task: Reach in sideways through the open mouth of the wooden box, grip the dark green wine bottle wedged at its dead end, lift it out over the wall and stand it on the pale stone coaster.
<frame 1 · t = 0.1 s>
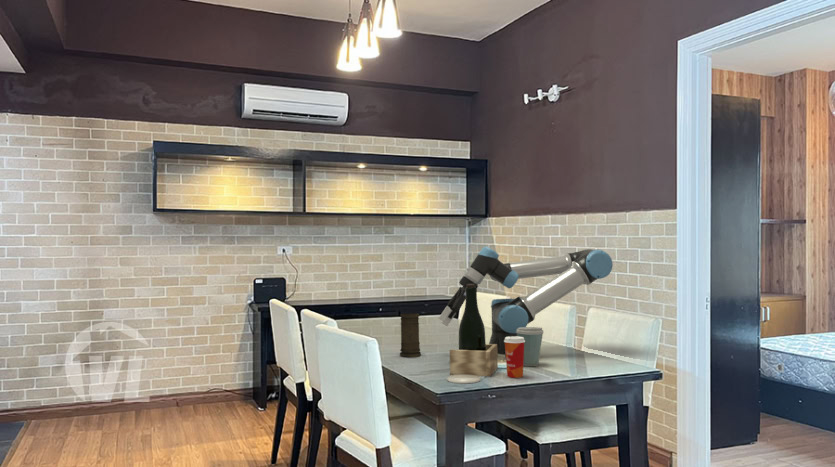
hand: (442, 322, 267), 15 cm above the table, tool tilted 35°, fingers open, 13 cm apart
disposable coffee cup: (530, 365, 252), on the table
coaster: (463, 379, 228), on the table
paper cup: (515, 376, 232), on the table
wooden box: (472, 370, 243), on the table
container: (410, 356, 275), on the table
dark green wine bottle: (472, 371, 243), on the table
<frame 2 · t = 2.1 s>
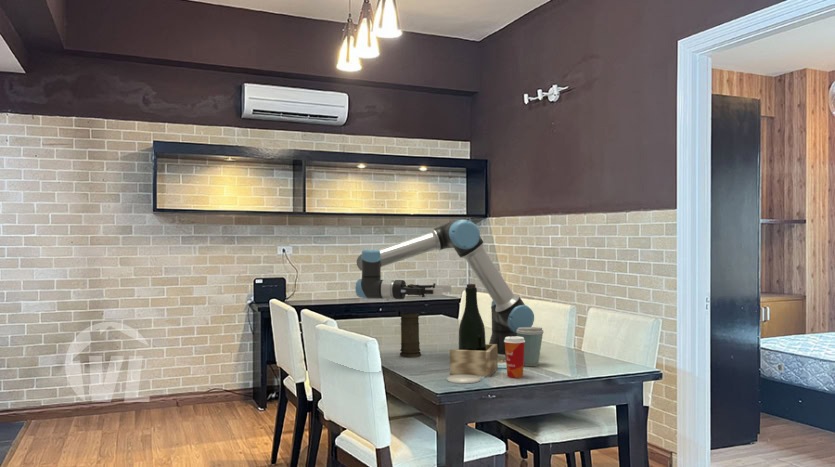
hand: (446, 290, 246), 30 cm above the table, tool horizontal, fingers open, 13 cm apart
nothing on the table moved.
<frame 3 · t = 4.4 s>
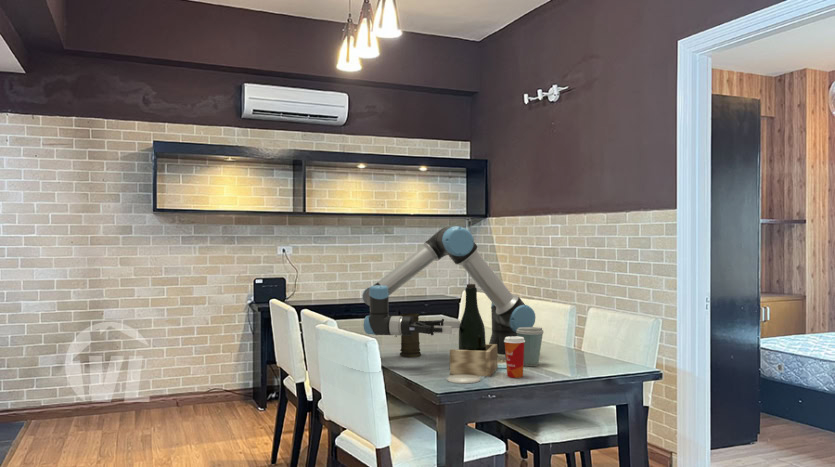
hand: (455, 327, 244), 16 cm above the table, tool horizontal, fingers open, 13 cm apart
nothing on the table moved.
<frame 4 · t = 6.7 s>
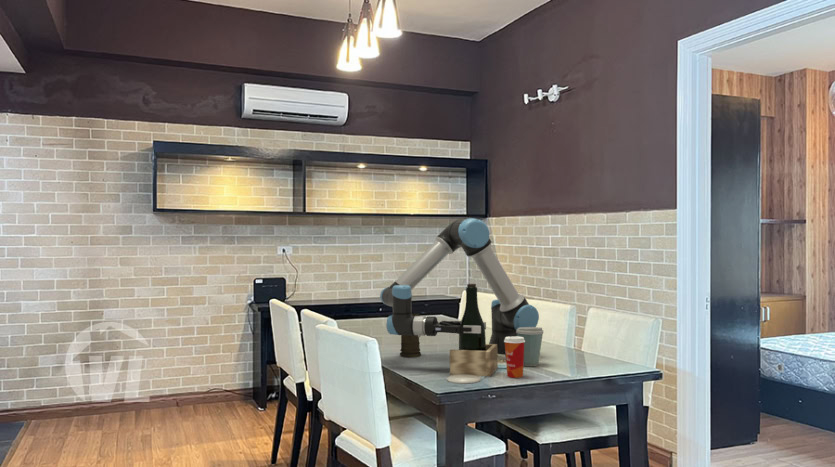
hand: (483, 327, 241), 17 cm above the table, tool horizontal, fingers closed on dark green wine bottle, 9 cm apart
dark green wine bottle: (472, 371, 243), on the table, touching gripper
everything else where it was.
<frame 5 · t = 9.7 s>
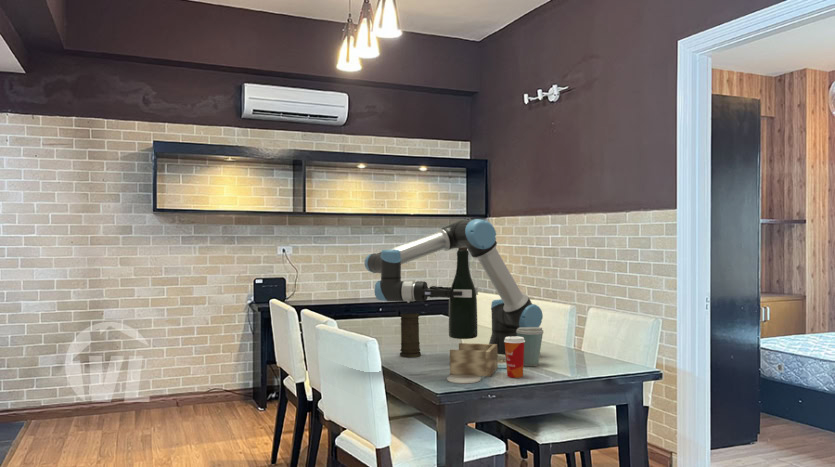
hand: (474, 292, 232), 31 cm above the table, tool horizontal, fingers closed on dark green wine bottle, 9 cm apart
dark green wine bottle: (463, 337, 233), point 14 cm above the table, touching gripper
everything else where it was.
when the fingers open (18 cm above the table, at t = 13.0 s): dark green wine bottle drops 1 cm, resting on coaster.
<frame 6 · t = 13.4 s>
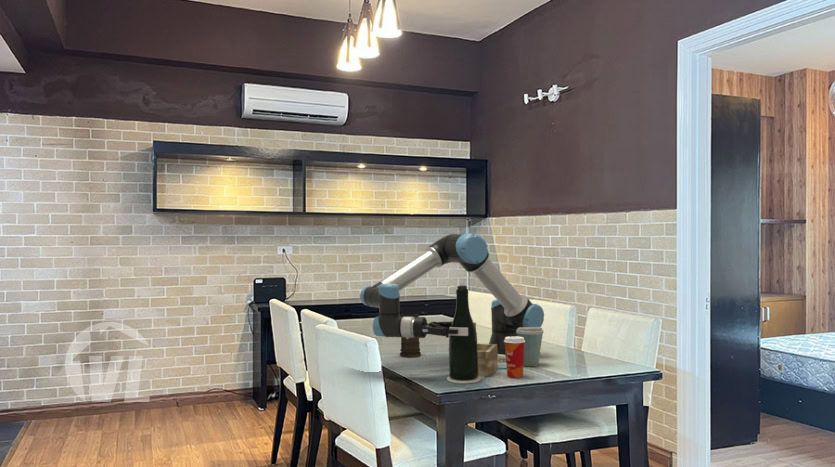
hand: (472, 328, 227), 18 cm above the table, tool horizontal, fingers open, 13 cm apart
dark green wine bottle: (463, 378, 228), resting on coaster
everything else where it was.
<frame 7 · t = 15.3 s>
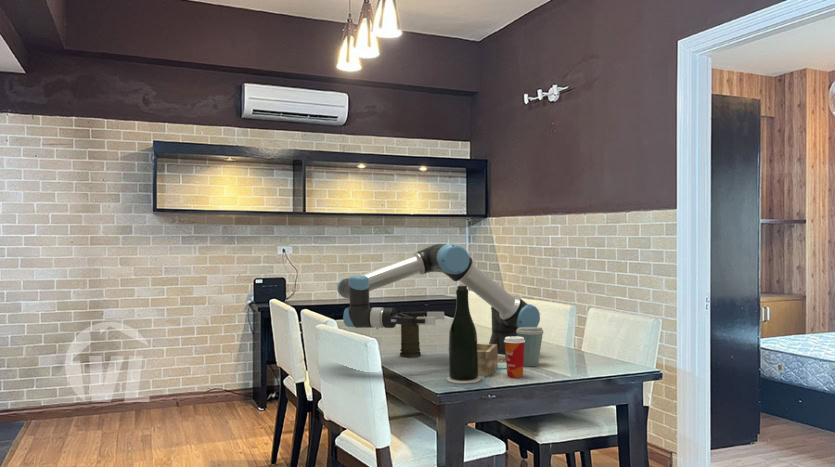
hand: (439, 318, 232), 22 cm above the table, tool horizontal, fingers open, 13 cm apart
nothing on the table moved.
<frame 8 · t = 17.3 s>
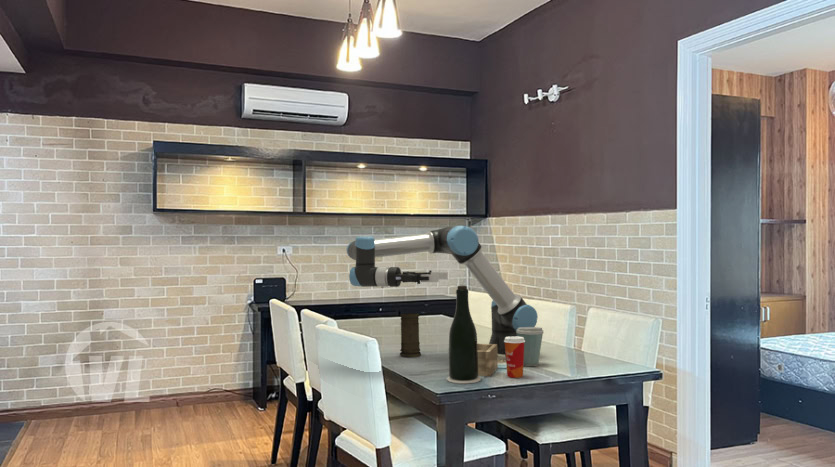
hand: (443, 277, 239), 36 cm above the table, tool horizontal, fingers open, 13 cm apart
nothing on the table moved.
at the end: dark green wine bottle 0.2 cm from the coaster (horizontally); dark green wine bottle tilted 0°; the gripper is holding nothing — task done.
